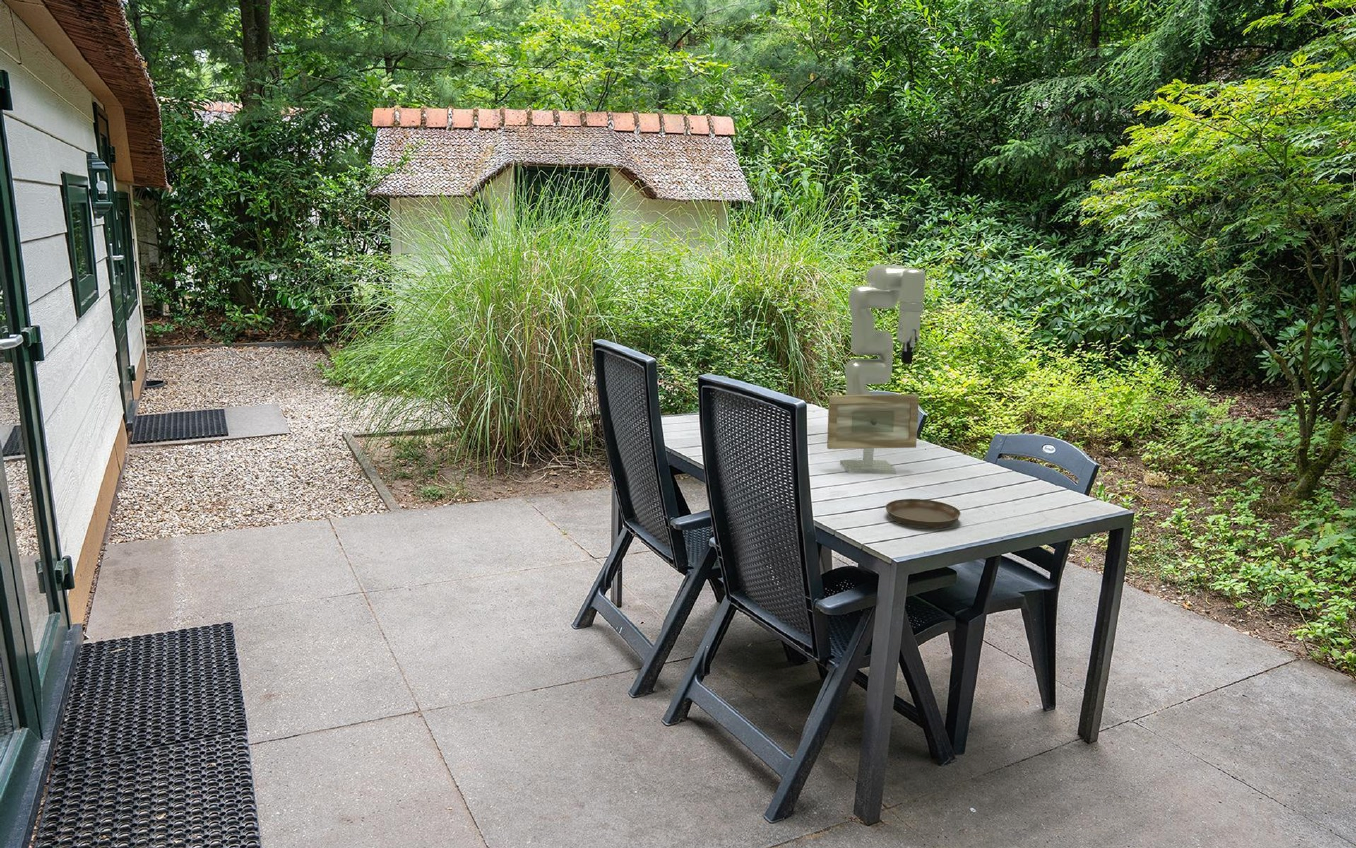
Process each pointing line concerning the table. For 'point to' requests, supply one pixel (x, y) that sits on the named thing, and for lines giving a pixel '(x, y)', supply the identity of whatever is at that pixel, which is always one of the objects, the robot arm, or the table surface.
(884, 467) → the frame stand
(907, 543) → the table surface
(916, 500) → the plant saucer
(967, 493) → the table surface
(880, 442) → the picture frame
